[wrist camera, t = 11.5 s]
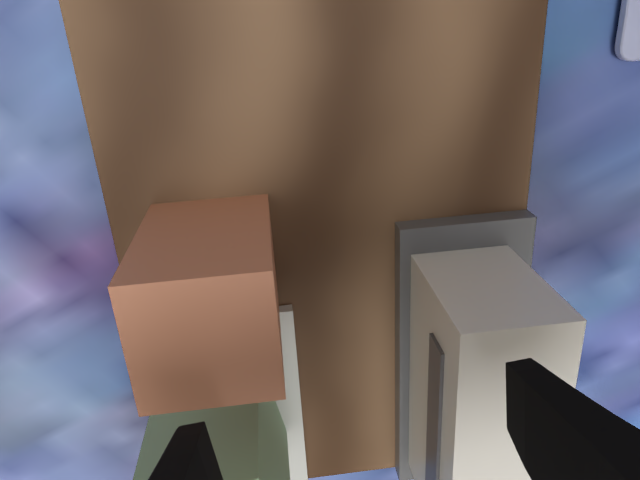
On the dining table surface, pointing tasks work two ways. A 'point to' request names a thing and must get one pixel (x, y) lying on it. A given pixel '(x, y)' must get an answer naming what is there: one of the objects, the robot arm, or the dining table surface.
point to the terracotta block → (200, 306)
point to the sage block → (226, 440)
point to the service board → (316, 154)
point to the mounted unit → (470, 341)
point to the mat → (292, 397)
